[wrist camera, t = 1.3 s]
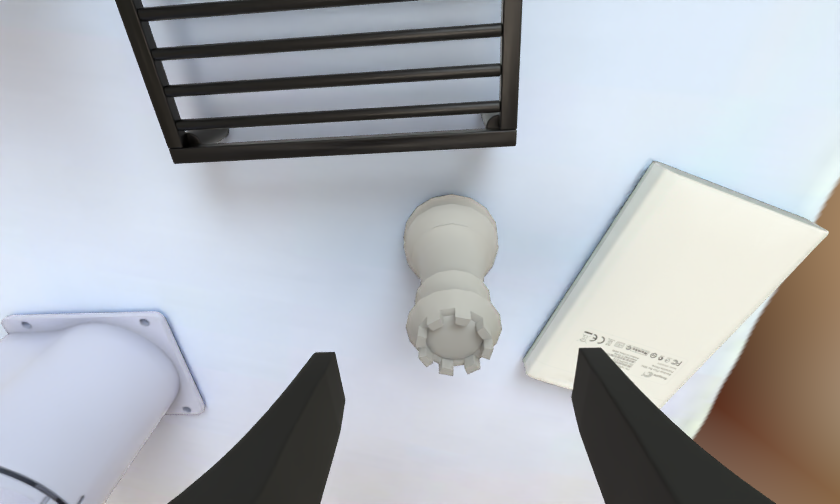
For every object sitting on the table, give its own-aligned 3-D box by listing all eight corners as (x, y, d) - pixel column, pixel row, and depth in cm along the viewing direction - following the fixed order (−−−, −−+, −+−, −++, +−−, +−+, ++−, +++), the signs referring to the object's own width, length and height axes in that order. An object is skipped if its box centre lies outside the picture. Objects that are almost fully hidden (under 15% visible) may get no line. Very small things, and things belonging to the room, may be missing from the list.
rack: (210, 142, 19) (173, 164, 17) (116, -159, 14) (44, -195, 12) (505, 126, 18) (516, 146, 16) (516, -203, 13) (533, -252, 11)
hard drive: (806, 218, 20) (646, 395, 26) (649, 157, 19) (521, 357, 25) (834, 234, 18) (658, 418, 24) (667, 169, 17) (526, 378, 23)
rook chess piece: (513, 211, 20) (550, 319, 13) (472, 284, 22) (485, 410, 15) (425, 175, 19) (415, 270, 13) (391, 254, 22) (367, 372, 15)
